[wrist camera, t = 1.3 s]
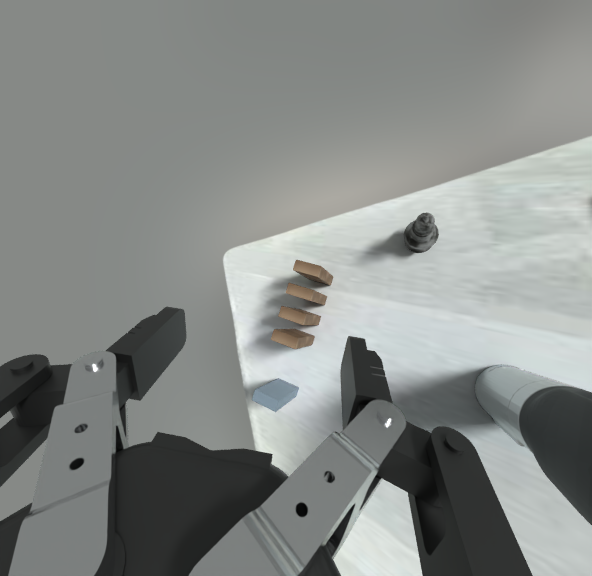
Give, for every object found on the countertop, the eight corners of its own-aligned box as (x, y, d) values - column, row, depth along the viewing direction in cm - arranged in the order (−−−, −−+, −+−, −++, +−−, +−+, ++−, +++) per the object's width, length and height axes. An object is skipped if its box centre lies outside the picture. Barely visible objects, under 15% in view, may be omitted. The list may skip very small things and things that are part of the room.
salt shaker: (436, 225, 53) (449, 198, 41) (434, 254, 52) (446, 235, 41) (404, 225, 55) (408, 199, 43) (401, 253, 54) (404, 234, 43)
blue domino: (296, 396, 57) (275, 411, 47) (275, 387, 59) (251, 400, 49) (298, 387, 57) (278, 400, 47) (278, 378, 59) (255, 389, 49)
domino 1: (330, 285, 58) (317, 276, 48) (309, 279, 60) (292, 269, 50) (333, 276, 58) (321, 266, 48) (312, 270, 60) (296, 259, 50)
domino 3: (318, 325, 58) (302, 324, 48) (297, 317, 60) (278, 316, 49) (321, 316, 58) (306, 314, 48) (300, 309, 60) (281, 305, 49)
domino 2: (324, 305, 58) (310, 300, 48) (303, 298, 60) (285, 293, 49) (327, 296, 58) (313, 290, 48) (306, 290, 60) (288, 282, 49)
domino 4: (312, 345, 58) (295, 349, 47) (291, 337, 59) (270, 339, 49) (314, 336, 58) (298, 338, 47) (294, 328, 59) (274, 329, 49)
